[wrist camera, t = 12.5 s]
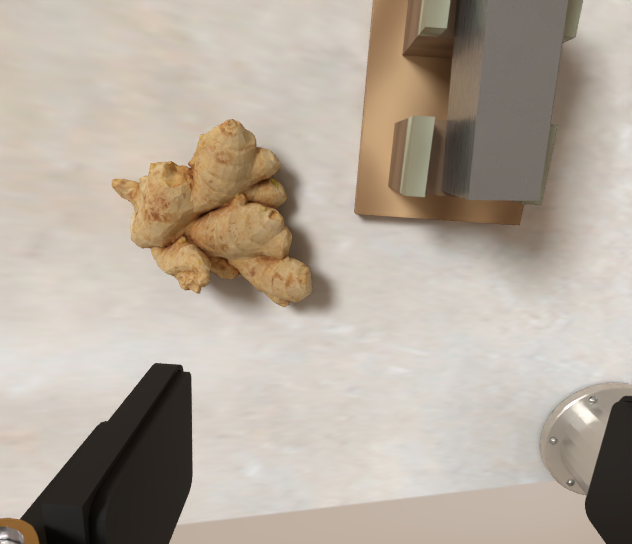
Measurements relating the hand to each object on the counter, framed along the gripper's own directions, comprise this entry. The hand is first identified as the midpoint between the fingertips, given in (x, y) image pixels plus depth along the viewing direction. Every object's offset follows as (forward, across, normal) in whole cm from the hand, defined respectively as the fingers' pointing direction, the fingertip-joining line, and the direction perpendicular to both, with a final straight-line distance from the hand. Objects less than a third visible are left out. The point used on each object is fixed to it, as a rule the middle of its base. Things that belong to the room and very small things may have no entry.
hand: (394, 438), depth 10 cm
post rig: (+30, -8, -11) cm, 33 cm away
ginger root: (+31, +11, 0) cm, 33 cm away
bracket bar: (+23, -8, -11) cm, 27 cm away
